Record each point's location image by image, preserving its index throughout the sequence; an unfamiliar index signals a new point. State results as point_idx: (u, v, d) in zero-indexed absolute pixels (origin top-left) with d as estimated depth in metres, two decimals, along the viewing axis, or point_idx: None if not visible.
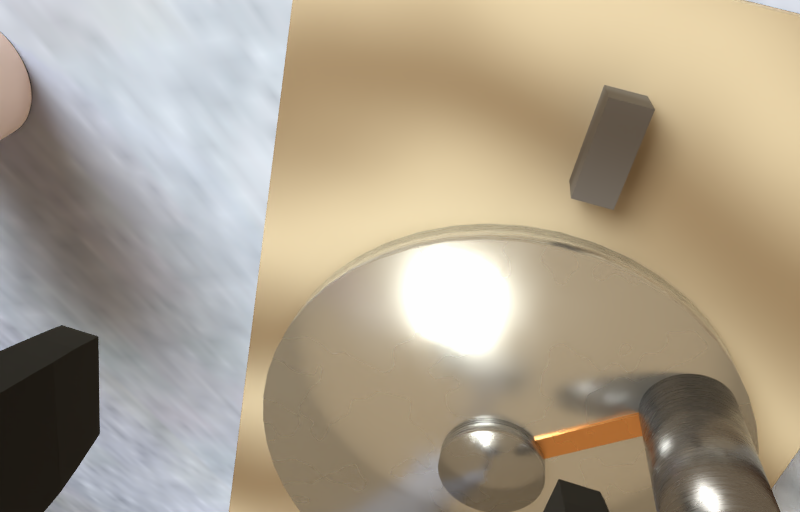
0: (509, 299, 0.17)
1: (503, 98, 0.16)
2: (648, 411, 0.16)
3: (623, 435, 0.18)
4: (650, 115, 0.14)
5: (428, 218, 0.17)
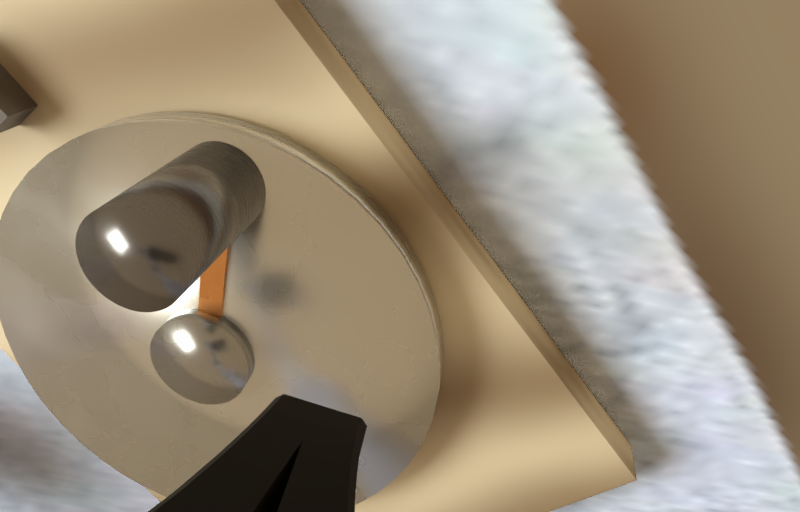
0: (58, 233, 0.19)
1: None
2: None
3: (226, 247, 0.18)
4: None
5: None
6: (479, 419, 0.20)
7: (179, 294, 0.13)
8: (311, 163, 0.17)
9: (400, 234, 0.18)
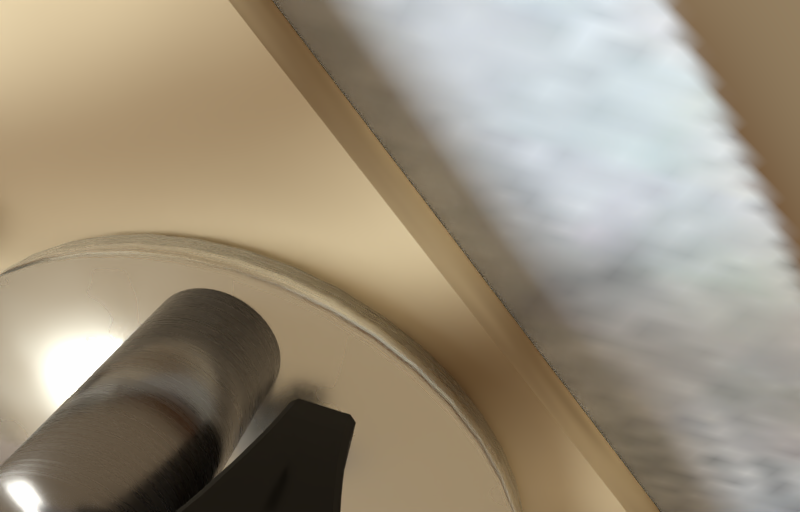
0: None
1: None
2: None
3: None
4: None
5: None
6: None
7: None
8: (348, 319, 0.11)
9: (473, 408, 0.12)
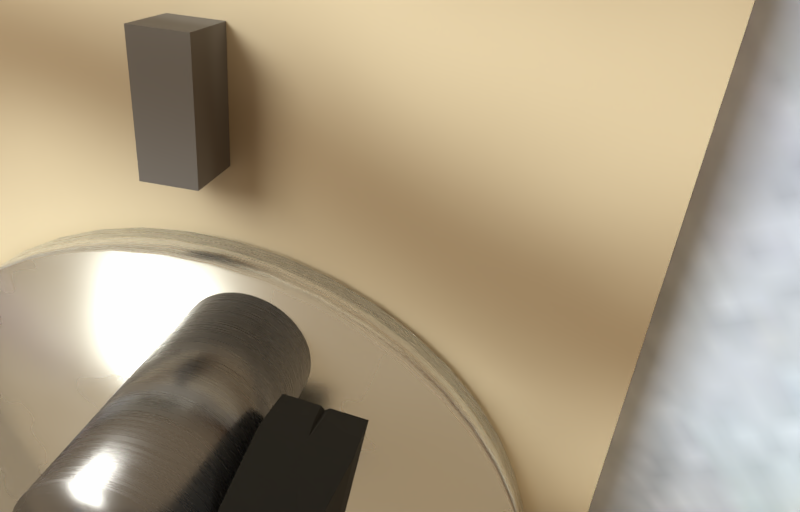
0: None
1: (53, 52, 0.11)
2: None
3: None
4: (196, 43, 0.09)
5: (34, 231, 0.13)
6: None
7: None
8: (383, 336, 0.11)
9: (491, 431, 0.12)
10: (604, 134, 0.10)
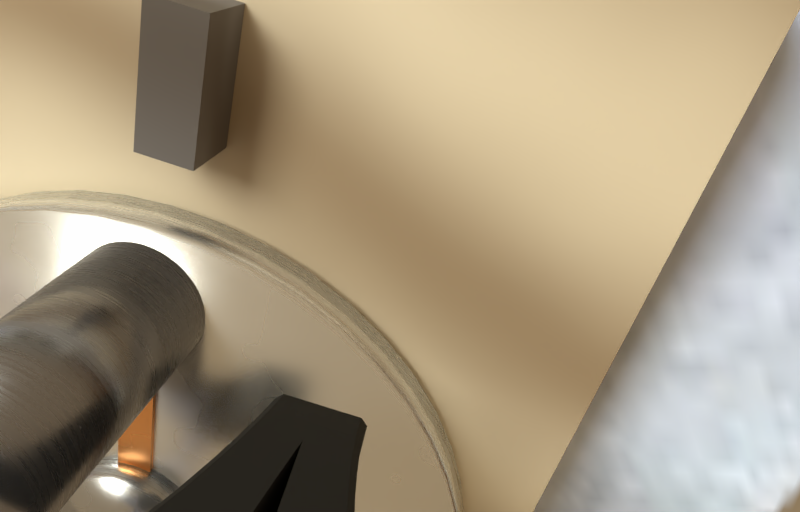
0: None
1: (57, 3, 0.11)
2: None
3: None
4: (213, 24, 0.09)
5: (9, 180, 0.12)
6: None
7: None
8: (272, 274, 0.11)
9: (404, 368, 0.12)
10: (601, 177, 0.10)
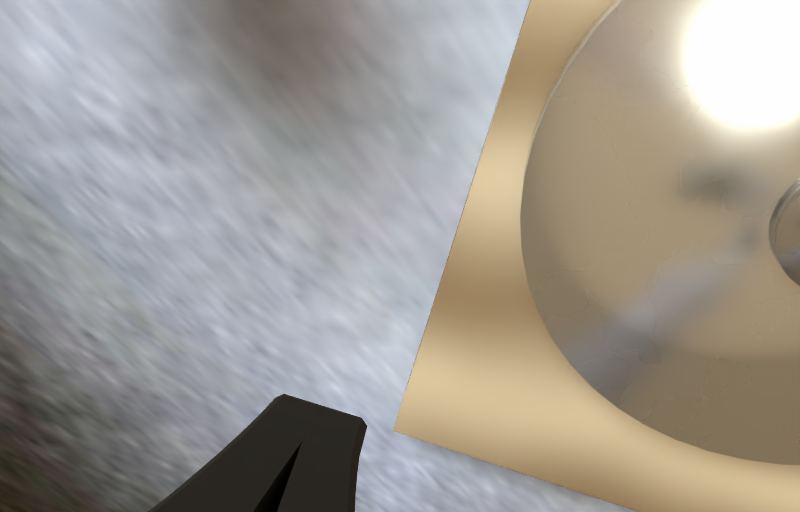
0: (677, 54, 0.14)
1: None
2: None
3: None
4: None
5: None
6: None
7: None
8: None
9: None
10: None
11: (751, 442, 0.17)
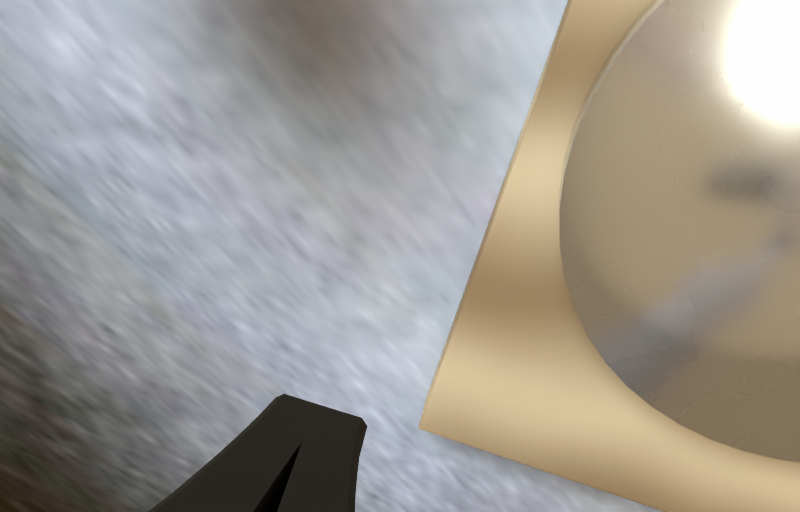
0: (728, 47, 0.13)
1: None
2: None
3: None
4: None
5: None
6: None
7: None
8: None
9: None
10: None
11: (787, 442, 0.17)
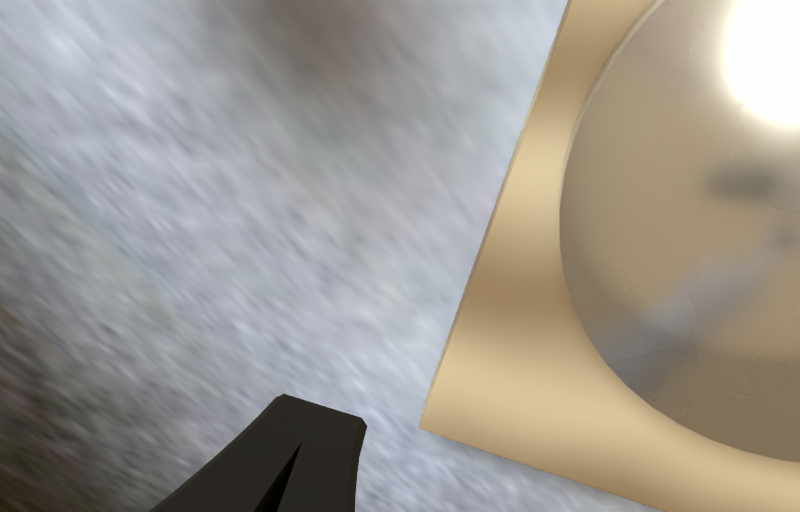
0: (728, 47, 0.13)
1: None
2: None
3: None
4: None
5: None
6: None
7: None
8: None
9: None
10: None
11: (787, 442, 0.17)
